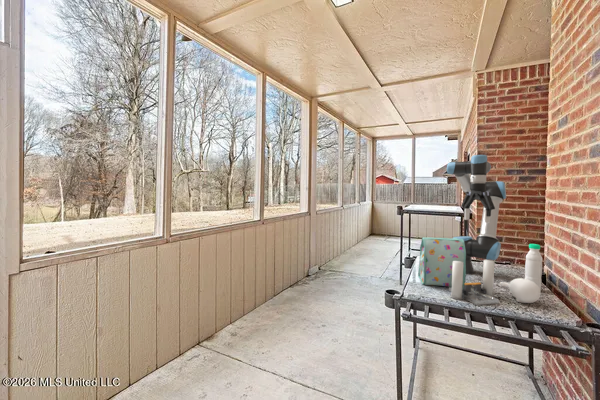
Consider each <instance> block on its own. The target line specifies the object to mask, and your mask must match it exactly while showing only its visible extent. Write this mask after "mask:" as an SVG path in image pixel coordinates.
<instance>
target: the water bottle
mask: <svg viewBox="0 0 600 400" xmlns="http://www.w3.org/2000/svg"><path fill="white" fill-rule="evenodd" d="M528 249H529V251H528V252H527V253H526V255H525V267H524V268H525V269H524V274H525V275H524V279H527V280H530V281H532V282H534V283H535V284H536V285H537V286H538V287H539V289H540V292H541V291H542V273H543V260H544V259H543V257H542V254H541V252H540V250H541V245H540V244H538V243H537V244H536V243H529V244H528Z"/></svg>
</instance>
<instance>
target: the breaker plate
mask: <svg viewBox="0 0 600 400" xmlns="http://www.w3.org/2000/svg"><path fill="white" fill-rule="evenodd" d="M451 291H452V287H448V292H450V293H451ZM462 297H463V299H464V300H465V301H468V302H470V303H472V304H474V305H476V306H483V305H496V304H498V305H499V303H500V302H499V298H497V297H495V296H494V297H492V296H490V295H487V294H486V290H484V289H482V287H481V292H476V291H474V287H471V292H468V291H467V290H464V287H462Z"/></svg>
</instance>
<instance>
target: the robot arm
mask: <svg viewBox="0 0 600 400" xmlns="http://www.w3.org/2000/svg"><path fill="white" fill-rule="evenodd" d="M491 169H492V165H491V163H490V162H489V161H488V156H487V155H486V154H474V155H471V157H470V160H469V161H468V160H467V161H451V162H448V163H447V166H446V172H447V174H448V175H454V177H455V179H456V180H457V181H458V183H459V184H460V188H461V190H462V192H463V193H465V196H464V198H463V200H462V203H461V205H460V206H461V208H463V214H464V217H463V219H464V220H465V221H469V220H470V216H471V215H470V214H471V213H470V212H471V211H470V207H471V206H472V205H473V203H474V201H476V200H477V201H480V203H481V204H482V205H483V208H482V216H481V222H480V223H481V224H480V230H479V235H477V236H476V238H475V239H473V237H472V236H470V235H469V236H467V235H466V236H465V235H464V236H463V235H461V236H460V235H459V236H453V237H452V238H457V239H463V240H464V244H465V250H466V261H465V263H466V275H468V274H469V275H471V274H472V275H473V274H474V272H475V269H474V265H473V262H472V258H477V259H482V260H491V261H496V260H497V259H498V258H499V256H500V252H501V248H502V244H501V242H500V241H499V239H498V238H497V237H496V236H497V229H498V220H499V212H500V211H499V210H500V204H501V203H502V202H504V201H503V200H505V199H507V190H506V184H505V182H504V181H497V180H496V181H492V180H491V181H487V173H489V172H490V171H491Z"/></svg>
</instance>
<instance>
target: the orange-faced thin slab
mask: <svg viewBox="0 0 600 400" xmlns="http://www.w3.org/2000/svg"><path fill="white" fill-rule="evenodd" d="M472 286H473V288H474V291H476V292H481V288H482V283H481V282H465V283H464V290H467V291H468V292H471V288H472Z"/></svg>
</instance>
